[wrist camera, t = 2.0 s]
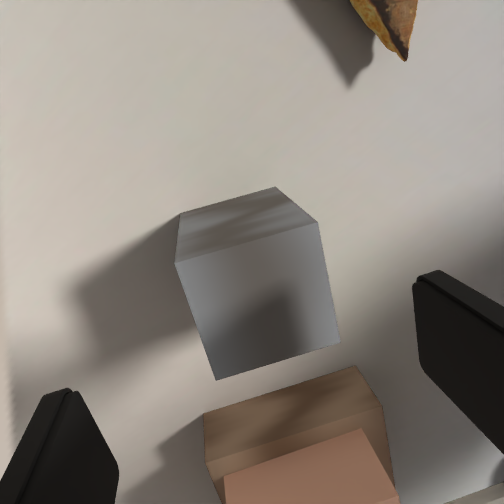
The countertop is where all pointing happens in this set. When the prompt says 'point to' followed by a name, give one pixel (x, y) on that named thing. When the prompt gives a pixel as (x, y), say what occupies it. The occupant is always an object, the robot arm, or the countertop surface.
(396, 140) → the countertop surface
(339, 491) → the tower top
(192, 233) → the grey block
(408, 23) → the flatbread slice
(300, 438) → the tower base
